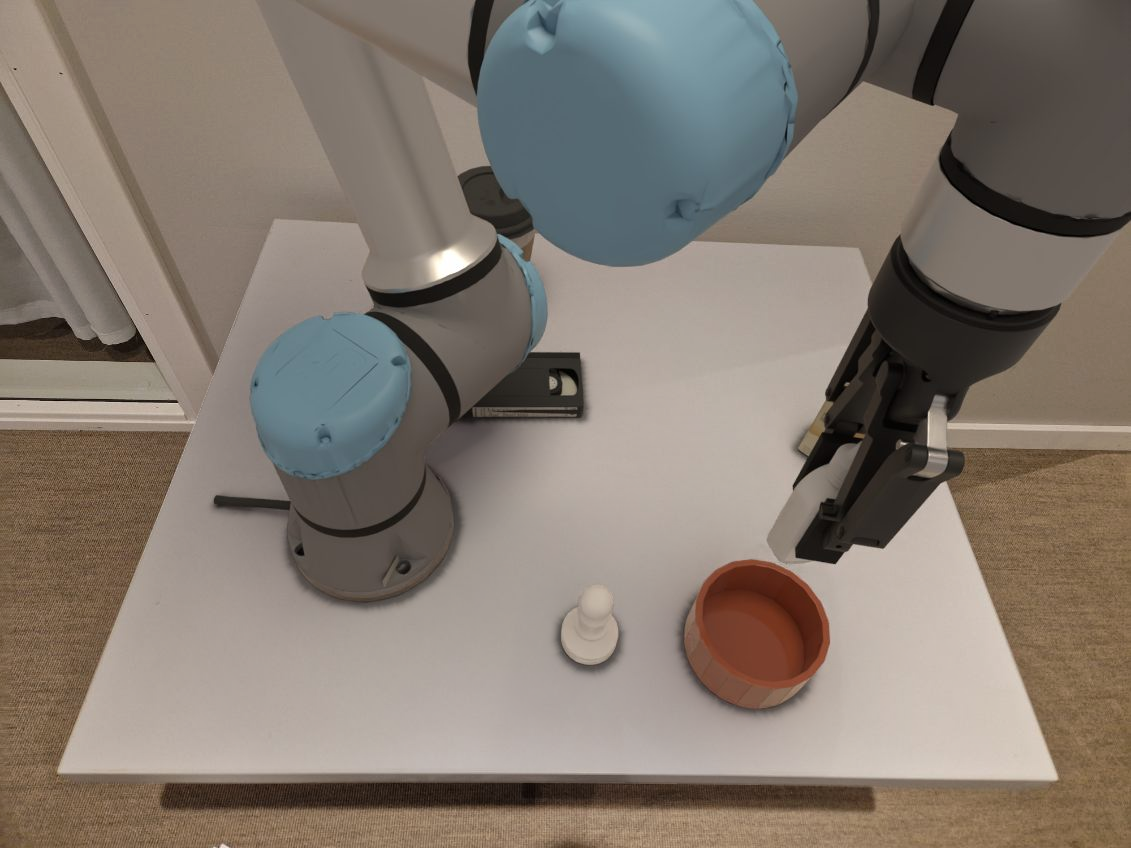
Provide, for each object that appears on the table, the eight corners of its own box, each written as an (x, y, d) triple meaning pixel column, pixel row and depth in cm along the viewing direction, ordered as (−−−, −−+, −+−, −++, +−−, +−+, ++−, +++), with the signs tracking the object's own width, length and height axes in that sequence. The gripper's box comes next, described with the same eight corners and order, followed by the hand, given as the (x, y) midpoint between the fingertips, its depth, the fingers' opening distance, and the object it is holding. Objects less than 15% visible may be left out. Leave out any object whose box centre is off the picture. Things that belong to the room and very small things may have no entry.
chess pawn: (558, 612, 66) (563, 567, 59) (613, 609, 66) (625, 565, 59) (562, 667, 63) (568, 627, 56) (619, 664, 63) (633, 624, 56)
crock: (679, 695, 62) (692, 674, 58) (687, 577, 69) (699, 549, 65) (811, 719, 61) (833, 700, 57) (806, 597, 68) (826, 571, 64)
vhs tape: (452, 417, 79) (450, 406, 77) (455, 363, 84) (454, 351, 82) (582, 417, 80) (584, 406, 78) (578, 364, 85) (579, 352, 83)
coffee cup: (538, 326, 88) (542, 224, 76) (444, 322, 88) (433, 219, 76) (541, 264, 95) (545, 162, 83) (454, 260, 95) (445, 156, 83)
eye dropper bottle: (844, 574, 52) (918, 482, 42) (765, 562, 52) (821, 468, 42) (838, 521, 54) (906, 423, 45) (763, 510, 55) (815, 411, 45)
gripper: (1129, 428, 27) (880, 653, 45) (1022, 164, 38) (856, 433, 56) (924, 397, 27) (760, 633, 46) (876, 144, 38) (758, 418, 57)
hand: (813, 523), depth 51 cm, fingers closed on eye dropper bottle, 4 cm apart
